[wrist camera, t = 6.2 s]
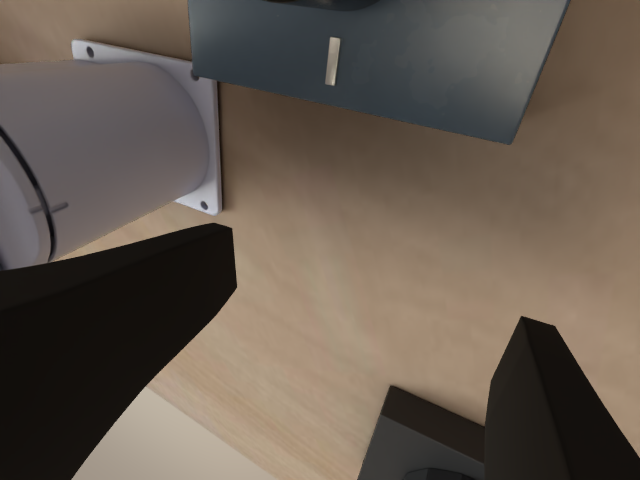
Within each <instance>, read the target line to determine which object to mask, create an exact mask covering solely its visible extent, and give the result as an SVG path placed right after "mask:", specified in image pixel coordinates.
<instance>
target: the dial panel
mask: <svg viewBox="0 0 640 480" xmlns="http://www.w3.org/2000/svg"><path fill="white" fill-rule="evenodd" d="M570 1H571V0H380V1H378V2H377V3H375V4H373V5H371V6H369V7H367V8H364V9H360V10H356V11H348V12H345V11H334V10H326V9H318V8H310V7H302V6H294V5H286V4H279V3H271V2H267V1H263V0H188V13H189V27H190V40H191V53H192V67H193V75H194V76H198V77H202V78H207V79H211V80H216V81H220V82H225V83H230V84H234V85H239V86H243V87H248V88H252V89H257V90H261V91H266V92H271V93H275V94H280V95H284V96H289V97H293V98H298V99H302V100H307V101H311V102H316V103H321V104H325V105H330V106H334V107H339V108H343V109H348V110H352V111H357V112H362V113H366V114H371V115H375V116H380V117H384V118H389V119H393V120H398V121H402V122H407V123H412V124H416V125H421V126H425V127H430V128H434V129H439V130H443V131H448V132H453V133H457V134H462V135H466V136H471V137H475V138H480V139H484V140H489V141H493V142H498V143H503V144H507V145H511V144H512V143H513V141H514V138H515V136H516V133H517V131H518V129H519V126H520V124H521V121H522V119H523V116H524V114H525V111H526V109H527V106H528V104H529V102H530V99H531V97H532V94H533V92H534V89H535V87H536V84H537V82H538V80H539V77H540V75H541V72H542V70H543V67H544V65H545V62H546V60H547V57H548V55H549V53H550V50H551V48H552V45H553V43H554V40H555V38H556V35H557V33H558V30H559V28H560V26H561V23H562V21H563V18H564V16H565V13H566V11H567V8H568V6H569V3H570Z"/></svg>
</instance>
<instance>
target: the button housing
mask: <svg viewBox="0 0 640 480" xmlns="http://www.w3.org/2000/svg"><path fill="white" fill-rule="evenodd" d="M484 461H485V428H484V427H482V426H479V425H477V424H475V423H473V422H470V421H468V420H466V419H464V418H462V417H459V416H457V415H455V414H453V413H450V412H448V411H446V410H444V409H442V408H439V407H437V406H435V405H433V404H431V403H428V402H426V401H424V400H422V399H419V398H417V397H415V396H413V395H411V394H408V393H406V392H404V391H402V390H400V389H397V388H395V387H393V386H390V387H389V390H388V393H387V396H386V399H385V402H384V404H383V407H382V410H381V413H380V416H379V419H378V422H377V424H376V427H375V430H374V433H373V436H372V439H371V442H370V444H369V447H368V450H367V453H366V456H365V459H364V462H363V464H362V467H361V470H360V473H359V476H358V479H357V480H484Z"/></svg>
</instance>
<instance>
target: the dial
mask: <svg viewBox="0 0 640 480" xmlns="http://www.w3.org/2000/svg"><path fill="white" fill-rule="evenodd" d="M263 1H267V2H271V3H279V4H286V5H294V6H302V7H310V8H318V9H326V10H334V11H345V12H348V11H356V10H360V9H364V8H367V7H369V6H371V5H373V4H375V3H377V2H378V1H380V0H263Z"/></svg>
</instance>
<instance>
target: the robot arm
mask: <svg viewBox="0 0 640 480" xmlns="http://www.w3.org/2000/svg"><path fill="white" fill-rule="evenodd" d="M71 48H72V52H73V57H74V60H60V61H43V62H26V63H10V64H0V480H71V479H72V478H73V476H74V475H75V473H76V472H77V471H78V469H79V468H80V467H81V465H82V464H83V463H84V461H85V460H86V459H87V457H88V456H89V455H90V453H91V452H92V451H93V450H94V448H95V447H96V446H97V445H98V443H99V442H100V441H101V439H102V438H103V437H104V436H105V434H106V433H107V432H108V431H109V429H110V428H111V427H112V426H113V424H114V423H115V422H116V421H117V419H118V418H119V417H120V416H121V415H122V413H123V412H124V411H125V410H126V408H127V407H128V406H129V405H130V404H131V403H132V401H133V400H134V399H135V398H136V397H137V395H138V394H139V393H140V392H141V391H142V390H143V388H144V387H145V386H146V385H147V384H148V383H149V382H150V381H151V380H152V379H153V378H154V377H155V376H156V375H157V374H158V373H159V372H160V371H161V370H162V369H163V368H164V367H165V366H166V365H167V364H168V363H169V362H170V361H171V360H172V359H173V358H174V357H175V356H176V355H177V354H178V353H179V352H180V351H181V350H182V349H183V348H184V347H185V346H186V345H187V344H188V343H189V342H190V341H191V340H192V339H193V338H194V337H195V336H196V335H197V334H198V333H199V332H200V331H201V330H202V329H203V328H204V327H205V326H206V325H207V324H208V323H209V322H210V321H211V320H212V319H213V318H214V317H215V316H216V315H217V313H218V312H219V311H220V310H221V308H222V307H223V306H224V305H225V303H226V302H227V301H228V299H229V298H230V296H231V295H232V294H233V292H234V291H235V290H236V288H237V280H236V268H235V256H234V244H233V233H232V228H230V227H227V226H223V225H220V224H217V223H209V224H204V225H199V226H195V227H191V228H187V229H183V230H179V231H175V232H172V233H168V234H164V235H161V236H157V237H153V238H150V239H146V240H143V241H139V242H135V243H132V244H128V245H124V246H120V247H116V248H112V249H108V250H104V251H100V252H96V253H92V254H88V255H84V256H79V257H75V258H70V259H65V260H60V261H56V262H53V261H55V260H57V259H59V258H61V257H63V256H65V255H67V254H69V253H71V252H73V251H75V250H77V249H79V248H81V247H83V246H85V245H87V244H89V243H91V242H93V241H95V240H97V239H99V238H101V237H103V236H105V235H107V234H109V233H111V232H113V231H115V230H117V229H119V228H121V227H123V226H125V225H127V224H129V223H131V222H133V221H135V220H137V219H139V218H141V217H143V216H145V215H147V214H149V213H151V212H153V211H155V210H157V209H159V208H161V207H163V206H165V205H167V204H169V203H171V202H173V201H174V202H177V203H180V204H182V205H185V206H188V207H191V208H194V209H196V210H199V211H202V212H205V213H208V214H210V215H214V216H215V215H218V214H219V213H221V211H222V190H221V166H220V142H219V119H218V95H217V81H216V80H211V79H207V78H202V77H199V79H198V77H197V76H194V75H193V67H192V61H187V60H182V59H177V58H172V57H167V56H162V55H158V54H153V53H148V52H143V51H138V50H133V49H128V48H123V47H119V46H114V45H109V44H104V43H99V42H94V41H89V40H85V39H73V40H72V43H71ZM205 202H206V203H207V205H208V206H207V205H206V203H205ZM484 480H640V458H639V456H638V455H637V453H636V452H635V450H634V449H633V447H632V446H631V445H630V443H629V442H628V440H627V439H626V437H625V436H624V435H623V433H622V432H621V430H620V429H619V427H618V426H617V424H616V423H615V421H614V420H613V418H612V417H611V415H610V414H609V412H608V411H607V409H606V408H605V406H604V404H603V403H602V401H601V400H600V398H599V397H598V395H597V394H596V392H595V390H594V389H593V387H592V386H591V384H590V382H589V381H588V379H587V378H586V376H585V374H584V373H583V371H582V370H581V368H580V366H579V365H578V363H577V361H576V360H575V358H574V356H573V355H572V353H571V352H570V350H569V348H568V347H567V345H566V343H565V342H564V340H563V338H562V337H561V335H560V334H559V332H558V330H557V329H556V327H555V326H553V325H550V324H547V323H543V322H540V321H537V320H533V319H530V318H527V317H524V316H521V318H520V320H519V322H518V324H517V326H516V328H515V330H514V333H513V335H512V337H511V339H510V341H509V343H508V345H507V348H506V350H505V352H504V354H503V356H502V358H501V360H500V363H499V365H498V367H497V369H496V371H495V373H494V375H493V377H492V380H491V384H490V391H489V398H488V405H487V413H486V421H485V461H484Z"/></svg>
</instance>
